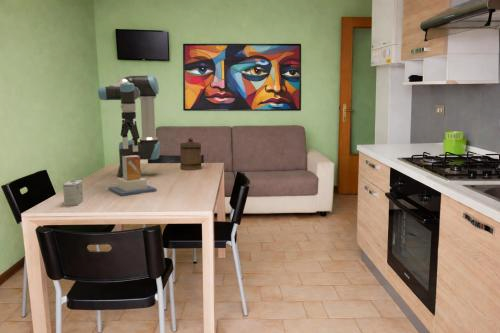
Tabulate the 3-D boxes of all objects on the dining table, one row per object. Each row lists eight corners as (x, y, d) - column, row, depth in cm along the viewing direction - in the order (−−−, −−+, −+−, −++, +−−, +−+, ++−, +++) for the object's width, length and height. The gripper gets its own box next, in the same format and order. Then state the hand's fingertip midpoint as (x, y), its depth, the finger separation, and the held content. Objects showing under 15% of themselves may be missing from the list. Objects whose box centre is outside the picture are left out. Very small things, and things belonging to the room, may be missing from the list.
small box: (127, 180, 261) (126, 157, 259) (122, 179, 266) (121, 156, 264) (141, 179, 265) (140, 156, 263) (136, 177, 270) (135, 154, 268)
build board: (108, 190, 269) (107, 178, 268) (141, 185, 280) (141, 174, 279) (122, 196, 253) (121, 184, 252) (156, 191, 265) (156, 179, 264)
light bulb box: (70, 200, 243) (68, 180, 241) (83, 200, 244) (82, 179, 242) (63, 205, 232) (62, 184, 231) (78, 205, 233) (76, 183, 231)
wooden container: (205, 167, 343) (205, 137, 339) (192, 170, 331) (191, 139, 327) (189, 166, 351) (188, 136, 347) (176, 169, 339) (175, 138, 335)
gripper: (113, 110, 267) (115, 148, 271) (131, 112, 248) (133, 153, 251) (126, 110, 272) (128, 147, 275) (144, 112, 252) (146, 151, 256)
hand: (130, 150), depth 263 cm, fingers open, 13 cm apart
